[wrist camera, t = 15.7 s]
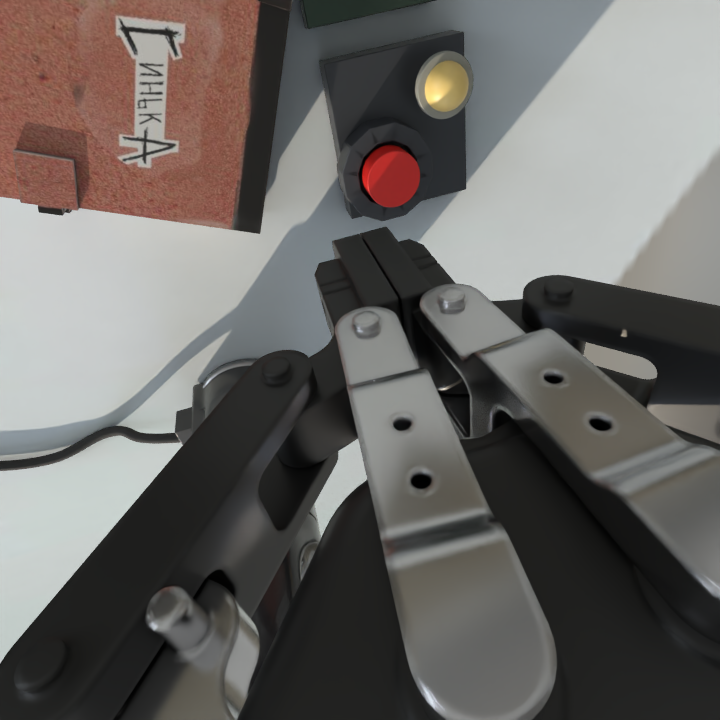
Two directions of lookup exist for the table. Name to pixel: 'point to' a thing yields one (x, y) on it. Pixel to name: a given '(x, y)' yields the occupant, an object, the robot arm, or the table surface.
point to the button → (390, 176)
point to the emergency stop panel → (392, 121)
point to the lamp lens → (444, 84)
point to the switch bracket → (347, 9)
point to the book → (141, 106)
